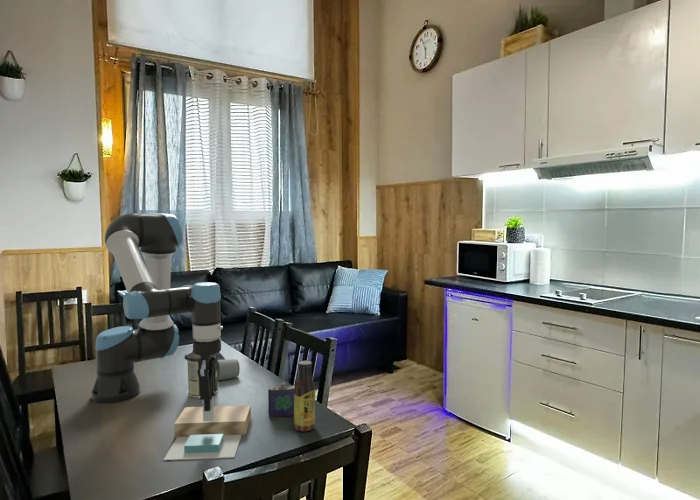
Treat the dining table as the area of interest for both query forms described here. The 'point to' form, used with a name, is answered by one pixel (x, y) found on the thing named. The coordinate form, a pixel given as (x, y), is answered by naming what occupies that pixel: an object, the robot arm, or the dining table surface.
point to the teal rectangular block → (203, 443)
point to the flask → (281, 401)
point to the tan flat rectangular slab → (224, 422)
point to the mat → (225, 451)
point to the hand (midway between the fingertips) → (208, 420)
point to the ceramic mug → (227, 369)
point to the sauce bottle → (304, 398)
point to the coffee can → (196, 375)
